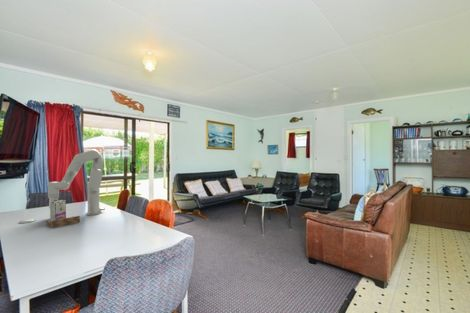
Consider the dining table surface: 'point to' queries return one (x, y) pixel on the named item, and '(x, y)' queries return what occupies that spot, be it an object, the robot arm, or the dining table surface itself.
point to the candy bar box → (57, 210)
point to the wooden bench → (63, 221)
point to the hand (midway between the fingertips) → (53, 217)
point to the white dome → (27, 220)
